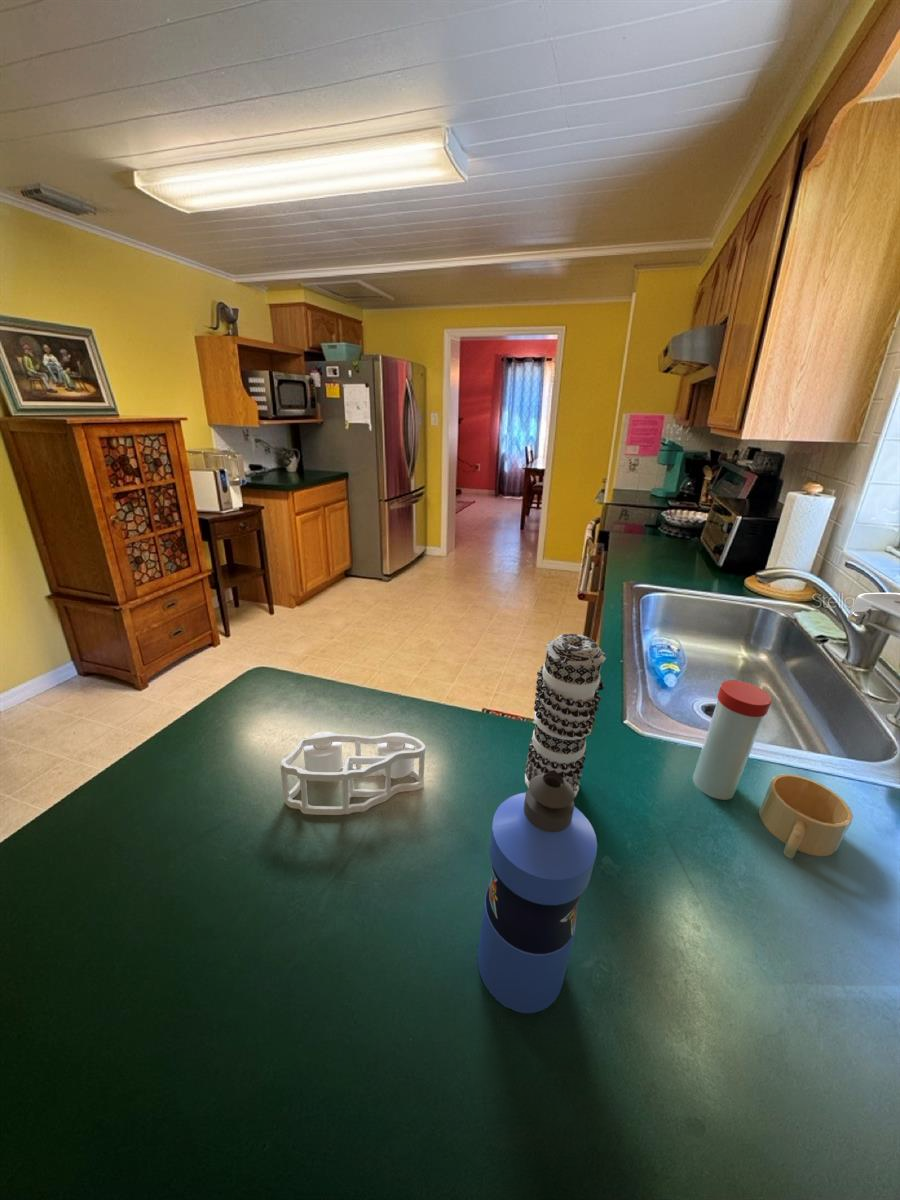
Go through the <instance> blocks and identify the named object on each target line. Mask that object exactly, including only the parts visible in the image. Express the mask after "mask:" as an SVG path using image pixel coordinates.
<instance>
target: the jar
mask: <svg viewBox="0 0 900 1200" xmlns="http://www.w3.org/2000/svg"><path fill="white" fill-rule="evenodd" d="M771 703H772V697H771V696H770V694H769V693H768V692H767V691H765V690H764V689H762V688H761V687H759V686H757V685H755V684H752V683H749V682H745V681H742V680H734V679H730V680H724V681H723V682H722V683H721V684H720V687H719V691H718V693H717V701H716V704H715V707H714V710H713V712H712V717H711V719H710V723H709V726H708V728H707V732H706V735H705V738H704V740H703V743H702V747H701V750H700V752H699V756H698V759H697V761H696V765H695V769H694V771H693V774H692V782H693V784H694V785H695V787H696V788H697V789H698V790H699V791H701V793H703V794H705V795H707V796H709V797H711V798H713V799H717V800H723V801H724V800H731V799H732V798H733V797H734V796H735V794H736V791H737V789H738V786H739V783H740V781H741V779H742V776H743V773H744V771H745V768H746V765H747V762H748V760H749V757H750V754H751V752H752V749H753V747H754V743H755V740H756V738H757V736H758V733H759V730H760V728H761V725H762V722H763V720H764V717H765V716H766V715H767V714H768V712H769V709H770V707H771Z"/></svg>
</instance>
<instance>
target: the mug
mask: <svg viewBox="0 0 900 1200" xmlns="http://www.w3.org/2000/svg"><path fill="white" fill-rule="evenodd" d="M758 812H759V817H760V820H761V823H762V824H763V825H764V827H765V828H766V829H767V830H768V831H769V833H771V835H773V836H774V837H775V838H777V839H778V840H779V841H781V842H782V843H783V844H785V846H784V849H783V854H784V856H785V857H786V858H788V859H793V858H794V857H795V856H796V854H797V851H798V852H801V853H804V854H807V855H811V856H814V857H815V856H816V857H828V856H832V855H834V854H835V853H836V852H837V851H838V848H839V847H840V846H841V843H842V841H844V838H845V835H846V834H847V832H848V830H849V828H850V826H851V824H852V822H853V818H854V815H853V812H852V810H851V807H850V806H849V805H848V804H847V803H846V802H845V800H844V799H843V798H842V797H841V796H840V795H838V794H837V793H836V792H834V791H833V790H832V789H830V788H828V787H827V786H825V785H823V784H821V783H819V782H817V781H815V780H812V779H810V778H808V777H804V776H801V775H797V774H790V773H784V774H783V773H782V774H778V775H776V776H774V777H772V779H771V781H770V782H769V786H768V788H767V790H766V793H765V795H764V797H763V800H762V802H761V805H760V808H759V810H758Z"/></svg>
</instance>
